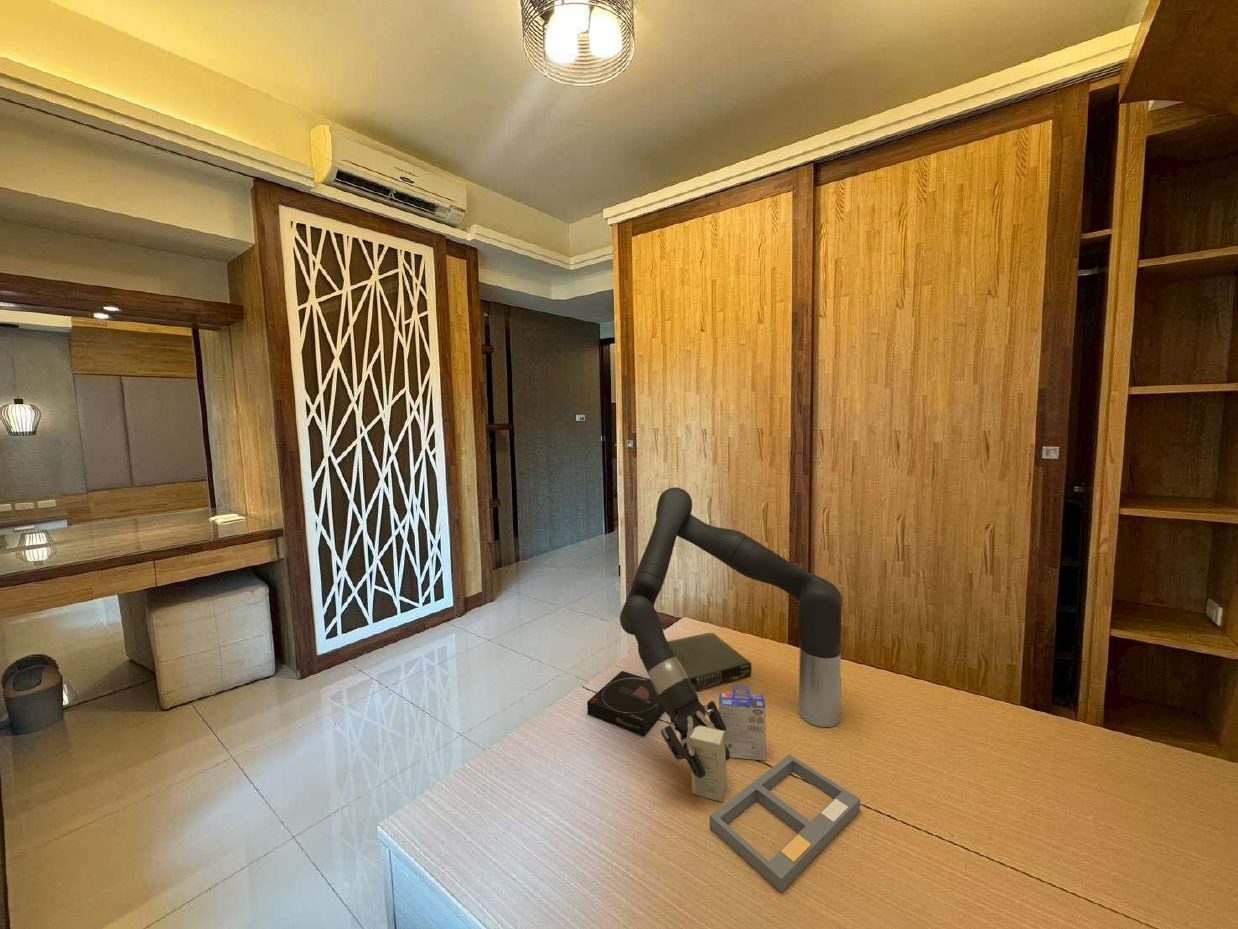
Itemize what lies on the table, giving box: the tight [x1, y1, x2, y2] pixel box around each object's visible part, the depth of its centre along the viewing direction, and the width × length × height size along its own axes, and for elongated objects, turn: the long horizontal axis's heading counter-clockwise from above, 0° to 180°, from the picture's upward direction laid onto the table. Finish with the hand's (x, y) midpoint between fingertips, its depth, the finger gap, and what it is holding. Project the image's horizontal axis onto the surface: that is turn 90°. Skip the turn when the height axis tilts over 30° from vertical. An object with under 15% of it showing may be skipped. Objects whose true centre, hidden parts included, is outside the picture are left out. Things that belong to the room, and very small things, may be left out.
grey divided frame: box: [709, 753, 861, 894], centre depth 88 cm, size 24×15×3 cm, turn 126°
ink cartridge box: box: [718, 684, 767, 761], centre depth 105 cm, size 10×6×14 cm, turn 80°
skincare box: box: [690, 726, 728, 803], centre depth 94 cm, size 6×4×12 cm
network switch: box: [667, 632, 752, 691], centre depth 140 cm, size 23×23×5 cm
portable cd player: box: [586, 670, 666, 738], centre depth 123 cm, size 16×17×4 cm
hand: (714, 768), depth 93 cm, fingers closed on skincare box, 6 cm apart
